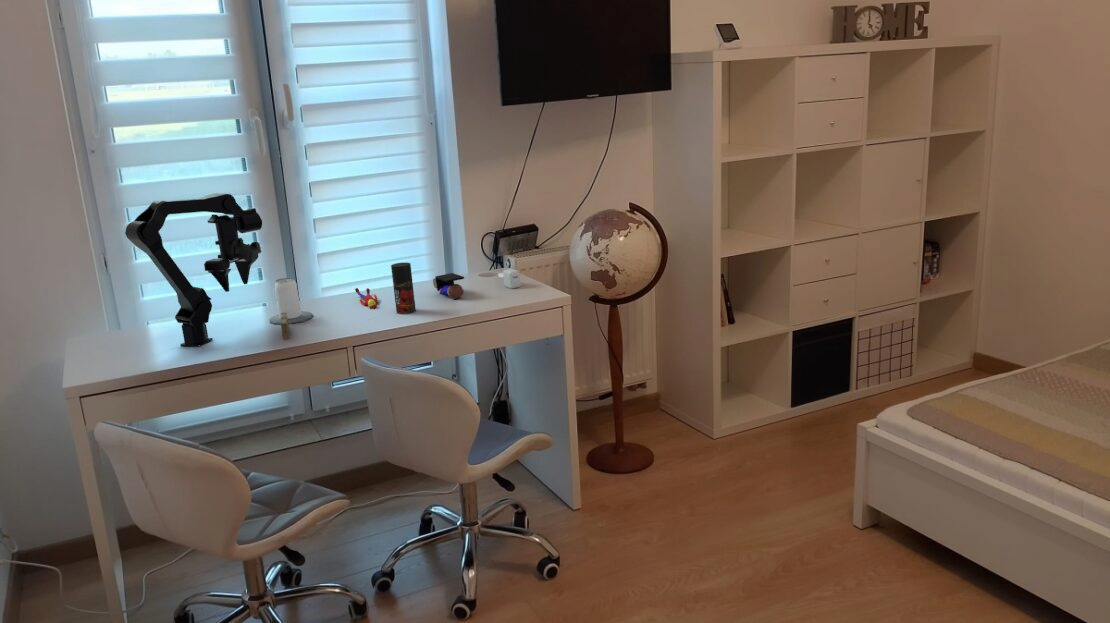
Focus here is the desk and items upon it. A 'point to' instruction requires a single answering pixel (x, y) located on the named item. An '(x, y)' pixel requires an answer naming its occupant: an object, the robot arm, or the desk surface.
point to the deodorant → (403, 288)
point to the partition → (284, 326)
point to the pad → (303, 317)
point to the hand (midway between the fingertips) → (236, 287)
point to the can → (287, 297)
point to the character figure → (367, 298)
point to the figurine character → (448, 285)
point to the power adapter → (510, 278)
